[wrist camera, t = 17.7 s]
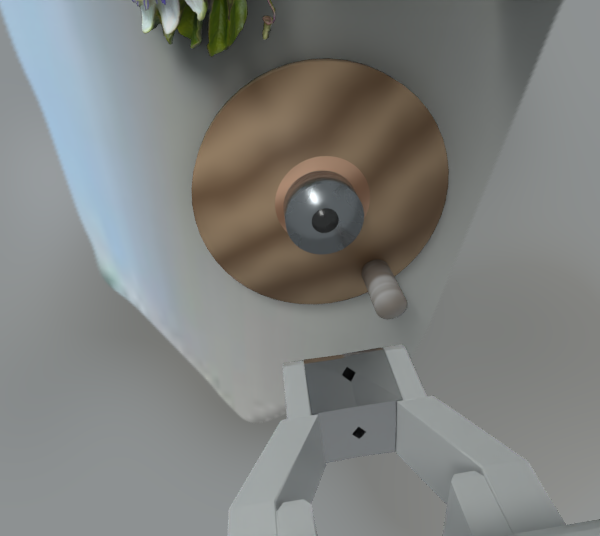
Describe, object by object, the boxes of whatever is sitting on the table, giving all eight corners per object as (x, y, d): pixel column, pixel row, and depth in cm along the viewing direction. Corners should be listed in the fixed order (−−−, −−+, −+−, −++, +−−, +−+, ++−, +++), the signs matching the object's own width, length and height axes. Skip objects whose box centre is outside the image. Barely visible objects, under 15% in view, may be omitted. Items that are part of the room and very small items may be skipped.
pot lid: (267, 200, 39) (269, 215, 36) (331, 154, 37) (337, 167, 34) (310, 251, 42) (314, 267, 40) (370, 211, 40) (378, 226, 38)
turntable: (137, 174, 38) (114, 212, 31) (360, -12, 32) (390, -13, 25) (293, 326, 50) (300, 377, 43) (477, 212, 44) (518, 251, 37)
